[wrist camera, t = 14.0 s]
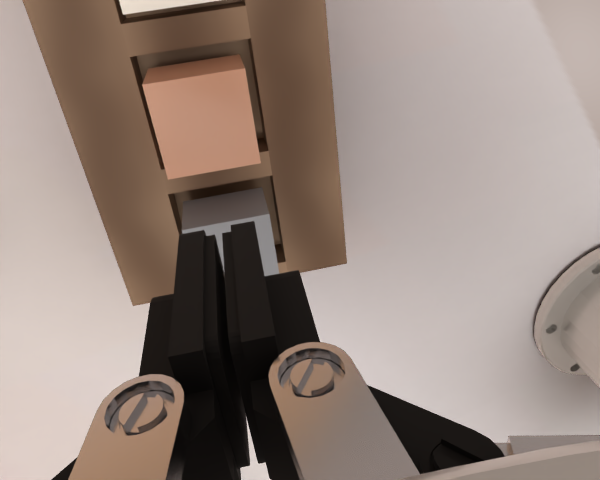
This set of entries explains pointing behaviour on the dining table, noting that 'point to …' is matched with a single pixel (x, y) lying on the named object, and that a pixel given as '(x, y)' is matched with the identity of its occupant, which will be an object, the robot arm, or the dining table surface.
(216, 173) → the wooden key base
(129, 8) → the cream key
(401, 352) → the dining table surface
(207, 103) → the terracotta key
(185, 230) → the slate key
